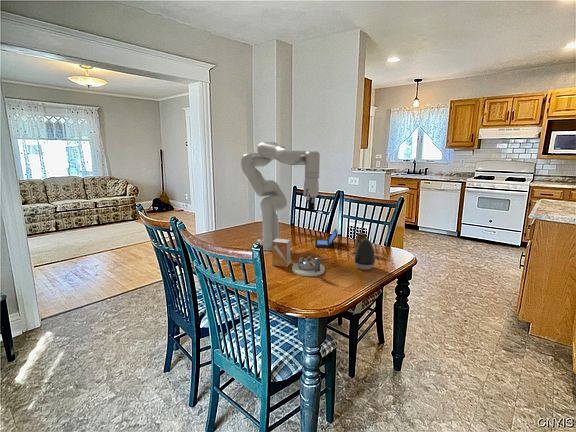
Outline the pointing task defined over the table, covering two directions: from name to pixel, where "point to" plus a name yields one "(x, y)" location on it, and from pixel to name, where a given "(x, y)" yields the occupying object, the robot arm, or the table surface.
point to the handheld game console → (326, 241)
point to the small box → (281, 252)
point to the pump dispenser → (364, 255)
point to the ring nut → (309, 264)
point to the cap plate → (307, 273)
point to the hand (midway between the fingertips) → (311, 209)
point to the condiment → (360, 237)
